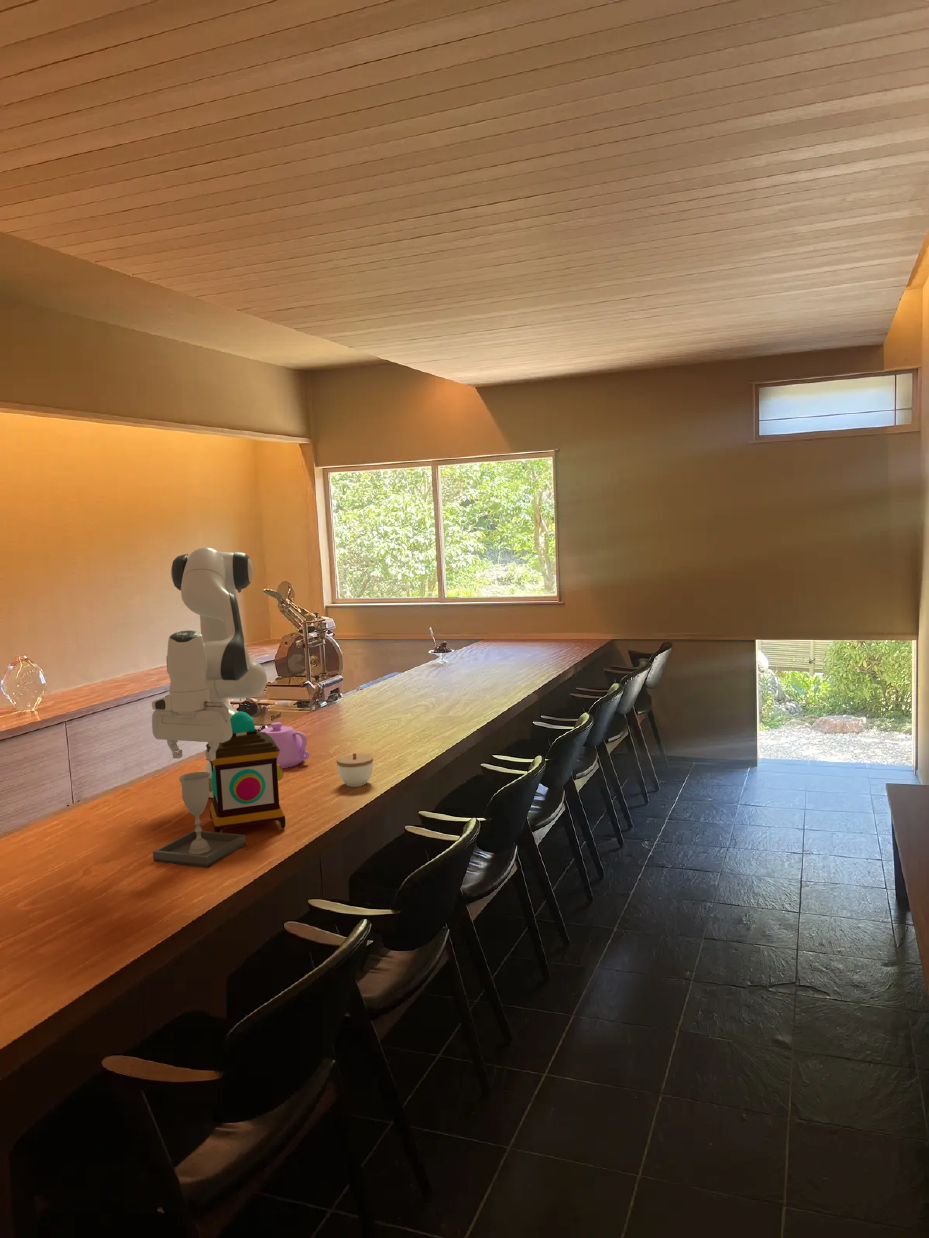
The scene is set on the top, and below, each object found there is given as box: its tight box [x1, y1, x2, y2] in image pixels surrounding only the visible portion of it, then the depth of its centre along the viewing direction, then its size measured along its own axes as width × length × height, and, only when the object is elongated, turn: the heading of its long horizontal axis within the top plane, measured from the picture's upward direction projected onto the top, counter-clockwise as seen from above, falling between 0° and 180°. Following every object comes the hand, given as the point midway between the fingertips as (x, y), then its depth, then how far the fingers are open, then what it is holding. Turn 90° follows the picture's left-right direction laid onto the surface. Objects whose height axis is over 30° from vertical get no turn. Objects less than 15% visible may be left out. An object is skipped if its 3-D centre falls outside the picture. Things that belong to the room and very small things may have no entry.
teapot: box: [259, 721, 311, 770], centre depth 285 cm, size 25×18×14 cm
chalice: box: [178, 771, 211, 854], centre depth 203 cm, size 7×7×18 cm
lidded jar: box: [336, 752, 374, 788], centre depth 257 cm, size 11×11×9 cm
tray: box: [152, 829, 247, 869], centre depth 204 cm, size 15×15×2 cm
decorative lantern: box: [205, 710, 286, 833], centre depth 222 cm, size 20×20×30 cm
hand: (194, 758), depth 202 cm, fingers open, 8 cm apart
